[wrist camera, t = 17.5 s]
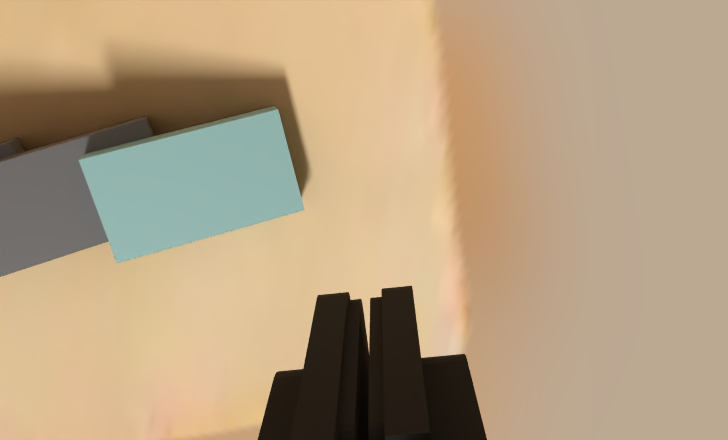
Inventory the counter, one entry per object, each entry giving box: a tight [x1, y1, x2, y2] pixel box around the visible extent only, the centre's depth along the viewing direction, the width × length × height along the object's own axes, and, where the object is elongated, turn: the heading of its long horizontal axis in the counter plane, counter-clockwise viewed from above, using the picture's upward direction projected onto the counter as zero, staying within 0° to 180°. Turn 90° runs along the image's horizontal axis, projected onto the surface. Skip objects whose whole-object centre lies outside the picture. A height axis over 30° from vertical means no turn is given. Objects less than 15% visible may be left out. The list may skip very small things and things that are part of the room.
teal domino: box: [79, 106, 304, 263], centre depth 30 cm, size 5×2×9 cm
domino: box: [0, 115, 155, 277], centre depth 30 cm, size 5×2×9 cm
